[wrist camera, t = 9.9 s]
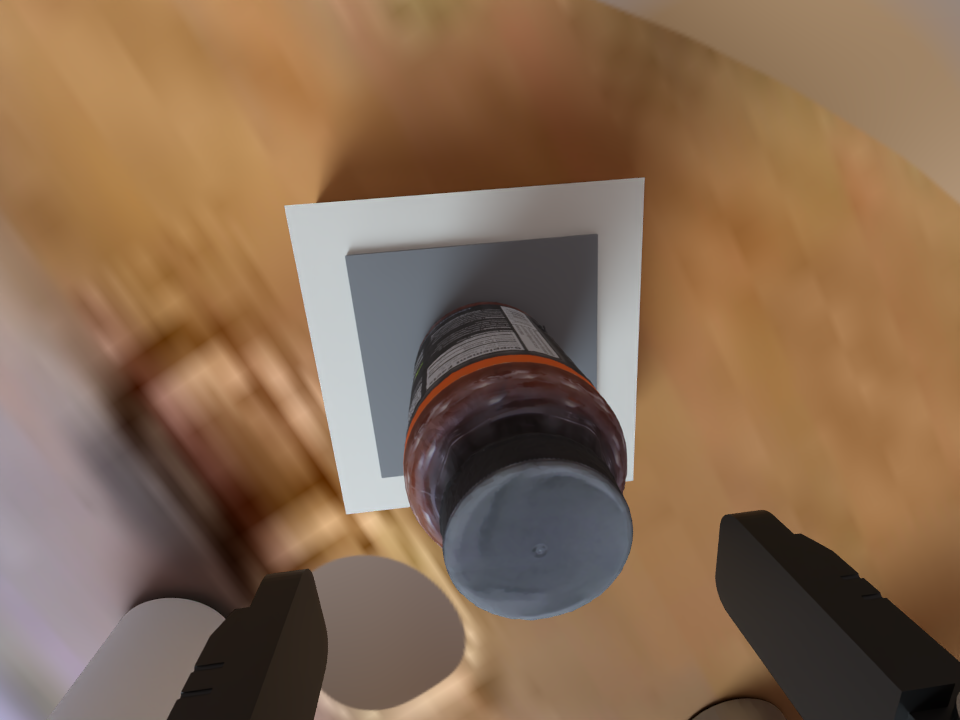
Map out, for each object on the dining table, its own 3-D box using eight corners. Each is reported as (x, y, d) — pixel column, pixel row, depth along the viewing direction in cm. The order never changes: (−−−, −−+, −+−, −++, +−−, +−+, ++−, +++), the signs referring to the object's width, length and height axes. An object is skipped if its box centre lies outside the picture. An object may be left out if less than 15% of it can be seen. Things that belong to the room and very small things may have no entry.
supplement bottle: (559, 416, 21) (683, 634, 11) (428, 439, 21) (423, 685, 10) (545, 285, 19) (682, 395, 9) (401, 309, 19) (360, 452, 8)
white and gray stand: (599, 432, 28) (636, 485, 23) (361, 459, 27) (344, 519, 22) (602, 181, 23) (649, 176, 18) (315, 203, 23) (280, 205, 17)
